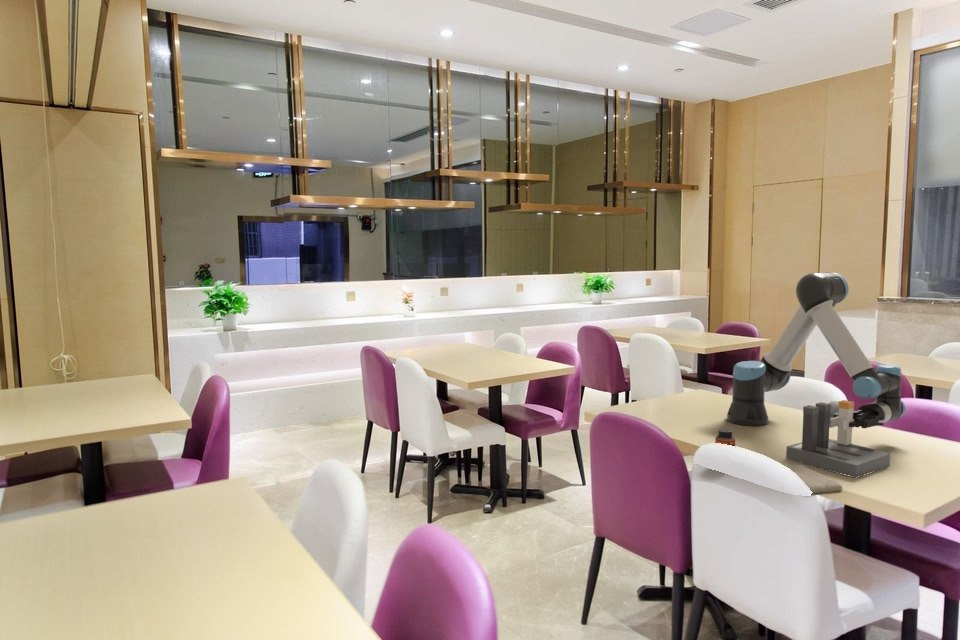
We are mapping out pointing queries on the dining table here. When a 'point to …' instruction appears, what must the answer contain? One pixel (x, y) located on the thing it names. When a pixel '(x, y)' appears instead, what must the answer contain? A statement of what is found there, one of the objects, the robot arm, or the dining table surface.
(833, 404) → the ceramic mug
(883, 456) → the grey peg stand
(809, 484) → the washcloth
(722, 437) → the supplement bottle
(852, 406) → the handle
